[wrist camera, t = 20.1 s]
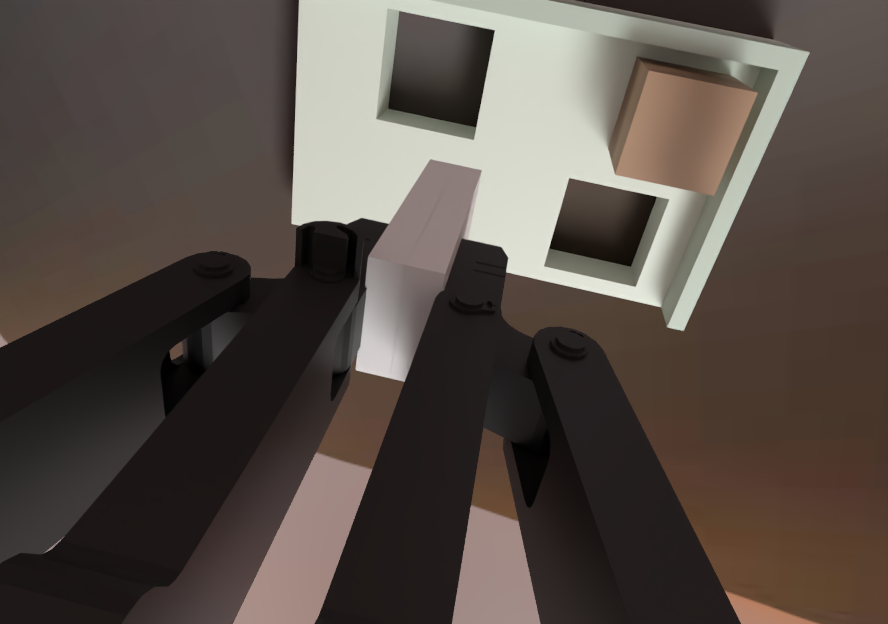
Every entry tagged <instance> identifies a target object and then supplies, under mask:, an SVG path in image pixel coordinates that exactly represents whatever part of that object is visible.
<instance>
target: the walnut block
mask: <svg viewBox="0 0 888 624" xmlns="http://www.w3.org/2000/svg"><path fill="white" fill-rule="evenodd" d="M757 94H758V92H756V91H755V90H753V89H752V88H750V87H748V86H747V85H745V84H744V83H742V82H741V81H739V80H738V79H736V78H735V77H733V76H731V75H727V74H722V73H717V72H712V71H708V70H703V69H698V68H693V67H688V66H683V65H678V64H673V63H668V62H663V61H658V60H653V59H648V58H643V57H638V56H637V57H636V61H635V64H634V67H633V70H632V73H631V77H630V80H629V83H628V86H627V89H626V93H625V96H624V99H623V102H622V105H621V109H620V112H619V115H618V118H617V121H616V125H615V128H614V131H613V134H612V138H611V141H610V144H609V147H608V150H609V154H610V158H611V162H612V165H613V169H614V173H615V175H618V176H623V177H628V178H632V179H637V180H642V181H647V182H651V183H656V184H661V185H665V186H670V187H675V188H679V189H684V190H689V191H693V192H698V193H703V194H707V195H712V196H714V195H715V193H716V191H717V188H718V186H719V184H720V181H721V179H722V176H723V174H724V172H725V169H726V167H727V165H728V162H729V160H730V158H731V155H732V153H733V151H734V148H735V146H736V143H737V141H738V139H739V136H740V134H741V132H742V129H743V127H744V125H745V122H746V120H747V118H748V115H749V113H750V110H751V108H752V106H753V103H754V101H755V99H756V96H757Z"/></svg>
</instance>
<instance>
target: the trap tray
mask: <svg viewBox="0 0 888 624" xmlns="http://www.w3.org/2000/svg"><path fill="white" fill-rule="evenodd" d="M399 11H403V12H408V13H413V14H417V15H422V16H427V17H432V18H437V19H442V20H447V21H452V22H457V23H462V24H467V25H472V26H477V27H482V28H487V29H491V30H495V33H494V38H493V44H492V49H491V54H490V59H489V64H488V70H487V75H486V80H485V85H484V90H483V96H482V101H481V106H480V111H479V116H478V122H477V127H471V126H467V125H462V124H457V123H453V122H448V121H443V120H438V119H434V118H429V117H424V116H420V115H415V114H410V113H406V112H401V111H396V110H391V109H388V106H389V97H390V88H391V80H392V71H393V62H394V53H395V44H396V35H397V27H398V18H399ZM809 53H810V52H807V51H804V50H802V49H799V48H796V47H793V46H790V45H787V44H785V43H782V42H779V41H776V40H773V39H768V38H763V37H758V36H753V35H747V34H742V33H737V32H732V31H727V30H722V29H717V28H712V27H707V26H702V25H697V24H692V23H687V22H682V21H677V20H672V19H667V18H662V17H657V16H652V15H647V14H642V13H637V12H632V11H627V10H622V9H616V8H611V7H606V6H601V5H596V4H591V3H586V2H581V1H576V0H299V18H298V48H297V78H296V107H295V137H294V167H293V196H292V224H295V225H300V226H301V225H302V224H304V223H309V222H313V221H333V222H340V223H343V224H348V223H350V222H353V221H355V220H358V219H360V218H365V219H369V220H374V221H379V222H383V223H388V224H389V223H390V222H391V220H392V218H393V217H394V215H395V214H396V212H397V211H398V209H399V207H400V206H401V204H402V203H403V201H404V200H405V198H406V196H407V195H408V193H409V192H410V190H411V189H412V187H413V186H414V184H415V182H416V181H417V179H418V178H419V176H420V175H421V173H422V171H423V170H424V168H425V167H426V165H427V164H428V162H429V160H430V159H432V160H437V161H441V162H446V163H451V164H455V165H460V166H465V167H469V168H474V169H479V170H482V173H481V178H480V183H479V188H478V193H477V198H476V203H475V207H474V212H473V217H472V222H471V227H470V232H469V237H468V240H472V241H476V242H481V243H485V244H490V245H494V246H499V247H502V249H503V250H504V252H505V253H506V255H507V257H508V263H507V269H506V272H508V273H512V274H517V275H521V276H526V277H530V278H534V279H539V280H543V281H548V282H552V283H557V284H561V285H565V286H570V287H574V288H579V289H583V290H588V291H592V292H596V293H601V294H605V295H610V296H614V297H619V298H623V299H627V300H632V301H636V302H641V303H645V304H650V305H654V306H658V307H661V308H662V311H663V315H664V318H665V321H666V325H667V327H669V328H673V329H678V330H682V331H684V329H685V326H686V324H687V322H688V320H689V317H690V315H691V313H692V311H693V309H694V306H695V304H696V302H697V300H698V298H699V295H700V293H701V291H702V289H703V287H704V284H705V282H706V280H707V278H708V276H709V273H710V271H711V269H712V267H713V265H714V262H715V260H716V258H717V256H718V253H719V251H720V249H721V247H722V245H723V242H724V240H725V238H726V236H727V234H728V231H729V229H730V227H731V225H732V223H733V220H734V218H735V216H736V214H737V212H738V209H739V207H740V205H741V203H742V201H743V198H744V196H745V194H746V192H747V189H748V187H749V185H750V183H751V181H752V178H753V176H754V174H755V172H756V170H757V167H758V165H759V163H760V161H761V159H762V156H763V154H764V152H765V150H766V148H767V145H768V143H769V141H770V139H771V137H772V134H773V132H774V130H775V128H776V125H777V123H778V121H779V119H780V117H781V114H782V112H783V110H784V108H785V106H786V103H787V101H788V99H789V97H790V95H791V92H792V90H793V88H794V86H795V84H796V81H797V79H798V77H799V75H800V73H801V70H802V68H803V66H804V64H805V61H806V59H807V57H808V55H809ZM637 56H638V57H643V58H648V59H653V60H658V61H663V62H668V63H673V64H678V65H683V66H688V67H693V68H698V69H703V70H708V71H712V72H717V73H722V74H727V75H731V76H733V77H735V78H736V79H738V80H739V81H741V82H742V83H744V84H745V85H747V86H748V87H750V88H752V89H753V90H755V91H756V92H758V94H757V96H756V99H755V101H754V103H753V106H752V108H751V110H750V113H749V115H748V118H747V120H746V122H745V125H744V127H743V129H742V132H741V134H740V136H739V139H738V141H737V143H736V146H735V148H734V151H733V153H732V155H731V158H730V160H729V162H728V165H727V167H726V169H725V172H724V174H723V176H722V179H721V181H720V184H719V186H718V188H717V191H716V193H715V195H714V196H712V195H707V194H703V193H698V192H693V191H689V190H684V189H679V188H675V187H670V186H665V185H661V184H656V183H651V182H647V181H642V180H637V179H632V178H628V177H623V176H618V175H615V173H614V169H613V165H612V162H611V158H610V154H609V150H608V147H609V144H610V141H611V138H612V134H613V131H614V128H615V125H616V121H617V118H618V115H619V112H620V109H621V105H622V102H623V99H624V96H625V93H626V89H627V86H628V83H629V80H630V77H631V73H632V70H633V67H634V64H635V61H636V57H637ZM569 178H572V179H577V180H582V181H586V182H591V183H596V184H600V185H605V186H610V187H614V188H619V189H623V190H628V191H633V192H637V193H642V194H647V195H651V196H656V197H657V198H656V201H655V203H654V206H653V209H652V212H651V214H650V217H649V220H648V222H647V225H646V228H645V230H644V233H643V236H642V238H641V241H640V244H639V246H638V249H637V252H636V255H635V257H634V260H633V263H632V265H631V267H630V266H625V265H621V264H616V263H612V262H607V261H603V260H598V259H594V258H589V257H585V256H580V255H576V254H571V253H567V252H562V251H558V250H553V249H549V247H550V243H551V240H552V236H553V233H554V229H555V226H556V222H557V219H558V215H559V212H560V208H561V205H562V201H563V198H564V194H565V191H566V187H567V184H568V180H569Z"/></svg>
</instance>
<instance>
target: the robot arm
mask: <svg viewBox="0 0 888 624" xmlns="http://www.w3.org/2000/svg"><path fill="white" fill-rule="evenodd" d="M481 173H482V170H479V169H474V168H469V167H465V166H460V165H455V164H451V163H446V162H441V161H437V160H432V159H430V160H429V162H428V164H427V165H426V167H425V168H424V170H423V171H422V173H421V175H420V176H419V178H418V179H417V181H416V182H415V184H414V186H413V187H412V189H411V190H410V192H409V193H408V195H407V196H406V198H405V200H404V201H403V203H402V204H401V206H400V207H399V209H398V211H397V212H396V214H395V215H394V217H393V218H392V220H391V222H390V223H389V224H388V223H383V222H379V221H374V220H369V219H365V218H360V219H358V220H355V221H353V222H350V223H348V224H343V223H340V222H333V221H313V222H309V223H304V224H302V225H301V226H299V227H297V228H296V253H295V267H294V268H293V269H292V270H291V271H290V272H289V274H288V275H287V276H286V277H285V278H283V279H268V278H251V266H250V265H249V263H248V262H247V261H246V260H245V259H243V258H241V257H239V256H237V255H233V254H229V253H226V252H218V251H210V252H206V253H198V254H195V255H192V256H189V257H186V258H184V259H182V260H180V261H178V262H176V263H174V264H171V265H169V266H167V267H165V268H163V269H161V270H159V271H157V272H155V273H153V274H151V275H149V276H147V277H145V278H143V279H141V280H139V281H137V282H134V283H132V284H130V285H128V286H126V287H124V288H122V289H120V290H118V291H116V292H114V293H112V294H110V295H108V296H106V297H104V298H102V299H99V300H97V301H95V302H93V303H91V304H89V305H87V306H85V307H83V308H81V309H79V310H77V311H75V312H73V313H71V314H69V315H67V316H65V317H62V318H60V319H58V320H56V321H54V322H52V323H50V324H48V325H46V326H44V327H42V328H40V329H38V330H36V331H34V332H32V333H30V334H27V335H25V336H23V337H21V338H19V339H17V340H15V341H13V342H11V343H9V344H7V345H5V346H3V347H1V348H0V624H233V622H234V620H235V618H236V616H237V614H238V611H239V609H240V607H241V605H242V603H243V601H244V599H245V597H246V595H247V593H248V591H249V589H250V587H251V585H252V583H253V581H254V579H255V577H256V575H257V572H258V570H259V568H260V566H261V564H262V562H263V560H264V558H265V556H266V554H267V552H268V550H269V548H270V546H271V544H272V541H273V540H274V537H275V535H276V533H277V531H278V529H279V527H280V525H281V523H282V521H283V519H284V517H285V515H286V513H287V511H288V509H289V507H290V505H291V502H292V500H293V498H294V496H295V494H296V492H297V490H298V488H299V486H300V484H301V482H302V480H303V478H304V476H305V474H306V471H307V470H308V467H309V465H310V463H311V461H312V459H313V457H314V455H315V453H316V451H317V449H318V447H319V445H320V443H321V441H322V439H323V437H324V435H325V432H326V430H327V428H328V426H329V424H330V422H331V420H332V418H333V416H334V414H335V412H336V410H337V408H338V406H339V404H340V402H341V400H342V398H343V395H344V393H345V391H346V389H347V387H348V385H349V380H350V372H351V364H352V362H353V360H354V358H355V356H356V354H357V352H358V354H357V363H356V370H357V371H362V372H366V373H370V374H374V375H379V376H383V377H387V378H391V379H396V380H400V381H404V385H403V388H402V390H401V393H400V396H399V399H398V401H397V404H396V407H395V410H394V412H393V415H392V418H391V420H390V423H389V426H388V429H387V431H386V434H385V437H384V440H383V442H382V445H381V448H380V451H379V453H378V456H377V459H376V462H375V464H374V467H373V470H372V472H371V475H370V478H369V481H368V483H367V486H366V489H365V492H364V494H363V497H362V500H361V503H360V505H359V508H358V511H357V513H356V516H355V519H354V522H353V524H352V527H351V530H350V533H349V535H348V538H347V541H346V544H345V546H344V549H343V552H342V554H341V557H340V560H339V563H338V565H337V568H336V571H335V574H334V577H333V579H332V582H331V585H330V588H329V590H328V593H327V595H326V599H325V601H324V604H323V606H322V609H321V611H320V614H319V616H318V619H317V620H316V622H315V624H452V618H453V612H454V606H455V600H456V594H457V588H458V581H459V575H460V569H461V563H462V556H463V550H464V544H465V538H466V532H467V525H468V519H469V512H470V507H471V500H472V494H473V488H474V482H475V475H476V469H477V463H478V457H479V451H480V444H481V438H482V432H483V427H484V428H486V429H488V430H490V431H492V432H494V433H496V434H498V435H500V436H502V437H504V440H503V451H504V456H505V460H506V465H507V469H508V474H509V479H510V483H511V488H512V493H513V497H514V502H515V507H516V511H517V516H518V521H519V525H520V530H521V535H522V539H523V544H524V549H525V553H526V558H527V563H528V567H529V571H530V576H531V581H532V586H533V591H534V595H535V600H536V604H537V609H538V614H539V618H540V622H541V624H741V623H740V621H739V619H738V617H737V615H736V613H735V611H734V609H733V607H732V605H731V603H730V601H729V599H728V597H727V595H726V593H725V591H724V589H723V587H722V585H721V583H720V581H719V579H718V577H717V575H716V573H715V571H714V569H713V567H712V565H711V563H710V561H709V559H708V557H707V555H706V553H705V551H704V549H703V547H702V545H701V543H700V541H699V539H698V537H697V535H696V533H695V532H694V530H693V528H692V526H691V524H690V522H689V520H688V518H687V516H686V514H685V512H684V510H683V508H682V506H681V504H680V502H679V500H678V498H677V496H676V494H675V492H674V490H673V488H672V486H671V484H670V482H669V480H668V478H667V476H666V474H665V472H664V470H663V468H662V466H661V464H660V462H659V460H658V458H657V456H656V454H655V452H654V450H653V448H652V446H651V444H650V442H649V440H648V438H647V436H646V434H645V432H644V430H643V428H642V426H641V424H640V422H639V420H638V418H637V416H636V414H635V412H634V410H633V408H632V406H631V405H630V403H629V401H628V399H627V397H626V395H625V393H624V391H623V389H622V387H621V385H620V383H619V381H618V379H617V377H616V375H615V373H614V371H613V369H612V367H611V365H610V363H609V361H608V359H607V357H606V355H605V353H604V351H603V349H602V348H601V347H600V346H599V344H598V343H597V342H596V341H594V340H593V339H591V338H590V337H589V336H587V335H586V334H584V333H582V332H580V331H579V332H578V331H577V330H574V329H570V328H569V329H568V328H563V327H547V328H544V329H541V330H539V331H538V332H537V333H536V335H535V336H534V338H532V337H529V336H527V335H525V334H523V333H521V332H519V331H517V330H515V329H514V328H513V327H511V326H510V325H509V324H508V323H507V322H506V321H505V320H504V319H503V317H502V315H501V314H502V311H501V301H502V294H503V288H504V282H505V276H506V269H507V263H508V257H507V255H506V253H505V252H504V250H503V249H502V247H499V246H494V245H490V244H485V243H481V242H476V241H472V240H468V237H469V232H470V227H471V222H472V217H473V212H474V207H475V203H476V198H477V193H478V188H479V183H480V178H481ZM181 341H182V347H183V354H182V355H181V356H179V357H178V358H176V359H174V360H171V358H170V352H169V350H171V349H172V348H173V347H174V346H175V345H176V344H178V343H179V342H181ZM63 537H64V538H63ZM62 538H63V539H62ZM60 539H62V540H61V541H60V542H59V543H58V544H57V545H56V546H55V547H54V548H53V549H52V550H50V551H48V552H46V551H47V550H48V549H49V548H50V547H52V546H53V545H54V544H55V543H57V542H58V541H59V540H60ZM44 552H46V553H44ZM43 553H44V554H43Z"/></svg>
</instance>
